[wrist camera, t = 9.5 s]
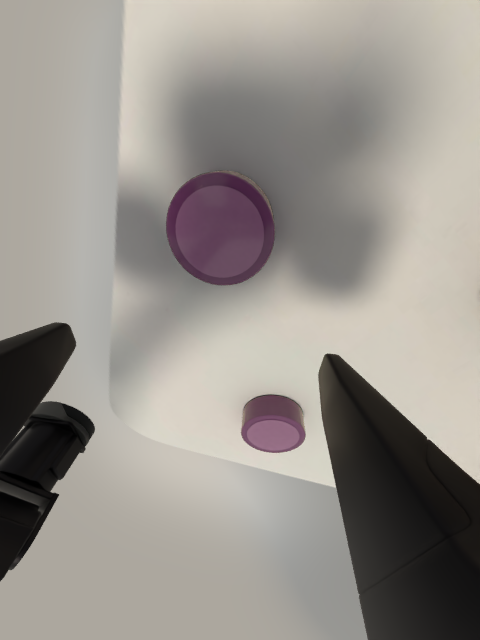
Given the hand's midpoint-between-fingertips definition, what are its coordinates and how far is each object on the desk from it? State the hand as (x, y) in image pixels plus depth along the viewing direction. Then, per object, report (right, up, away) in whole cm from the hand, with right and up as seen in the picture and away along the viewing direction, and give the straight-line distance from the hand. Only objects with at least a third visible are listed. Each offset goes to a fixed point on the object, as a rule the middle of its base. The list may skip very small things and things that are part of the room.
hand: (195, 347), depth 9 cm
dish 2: (+5, -9, +18) cm, 21 cm away
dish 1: (+1, +7, +8) cm, 11 cm away
